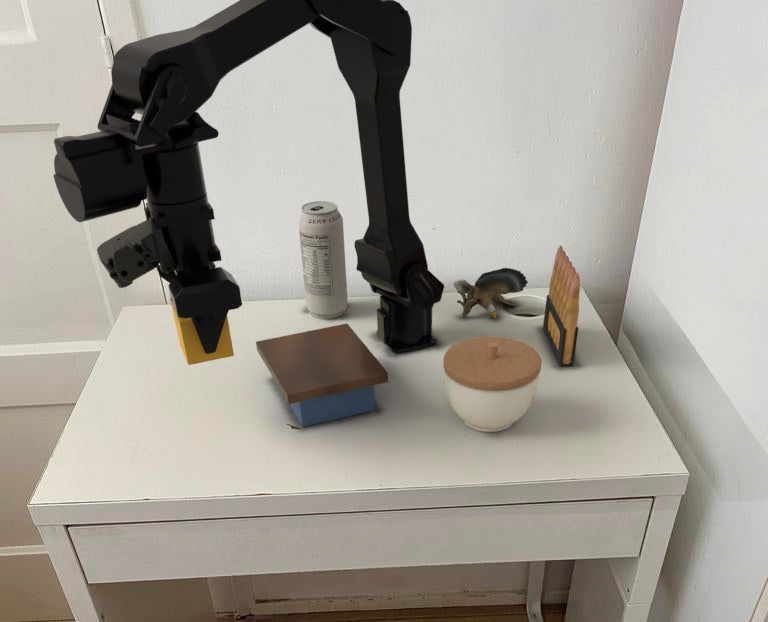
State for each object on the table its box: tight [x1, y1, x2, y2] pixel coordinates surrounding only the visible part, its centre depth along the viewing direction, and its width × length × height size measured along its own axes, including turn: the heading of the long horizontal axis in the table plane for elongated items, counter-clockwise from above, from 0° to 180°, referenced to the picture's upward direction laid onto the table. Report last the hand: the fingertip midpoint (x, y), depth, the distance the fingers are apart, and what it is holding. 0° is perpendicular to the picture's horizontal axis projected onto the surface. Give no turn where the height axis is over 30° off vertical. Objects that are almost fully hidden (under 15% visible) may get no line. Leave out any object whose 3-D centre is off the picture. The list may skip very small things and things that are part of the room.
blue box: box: [288, 385, 375, 428], centre depth 95 cm, size 9×12×4 cm
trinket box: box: [442, 336, 542, 433], centre depth 88 cm, size 11×11×9 cm
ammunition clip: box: [542, 245, 581, 367], centre depth 100 cm, size 11×2×12 cm, turn 3°
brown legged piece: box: [453, 267, 529, 319], centre depth 111 cm, size 8×7×9 cm
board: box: [255, 323, 389, 405], centre depth 93 cm, size 12×14×1 cm
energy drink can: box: [297, 200, 349, 320], centre depth 109 cm, size 6×6×15 cm
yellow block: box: [170, 303, 235, 366], centre depth 84 cm, size 5×5×5 cm
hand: (205, 342), depth 85 cm, fingers closed on yellow block, 5 cm apart
